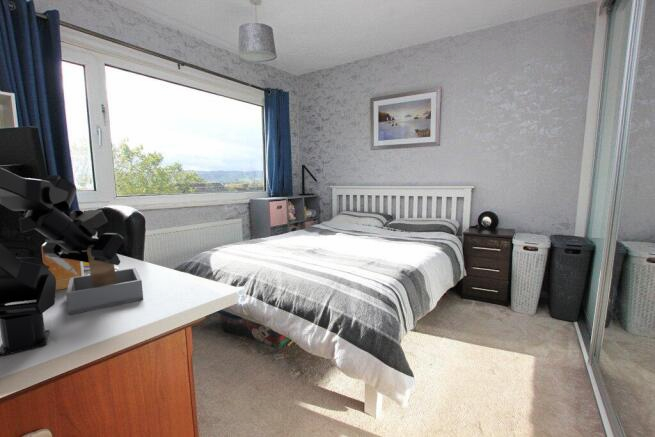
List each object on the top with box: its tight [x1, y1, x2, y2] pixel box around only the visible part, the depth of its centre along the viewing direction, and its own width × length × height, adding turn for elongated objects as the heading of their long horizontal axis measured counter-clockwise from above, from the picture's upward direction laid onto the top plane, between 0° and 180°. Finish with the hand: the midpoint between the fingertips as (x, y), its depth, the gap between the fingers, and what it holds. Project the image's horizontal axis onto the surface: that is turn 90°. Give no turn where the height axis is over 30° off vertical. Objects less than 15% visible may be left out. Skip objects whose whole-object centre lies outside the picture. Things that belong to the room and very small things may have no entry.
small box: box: [40, 241, 85, 291], centre depth 90 cm, size 8×6×13 cm
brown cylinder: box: [87, 248, 117, 288], centre depth 80 cm, size 5×5×13 cm
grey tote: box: [65, 267, 144, 315], centre depth 81 cm, size 15×15×5 cm
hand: (108, 262), depth 81 cm, fingers open, 6 cm apart
